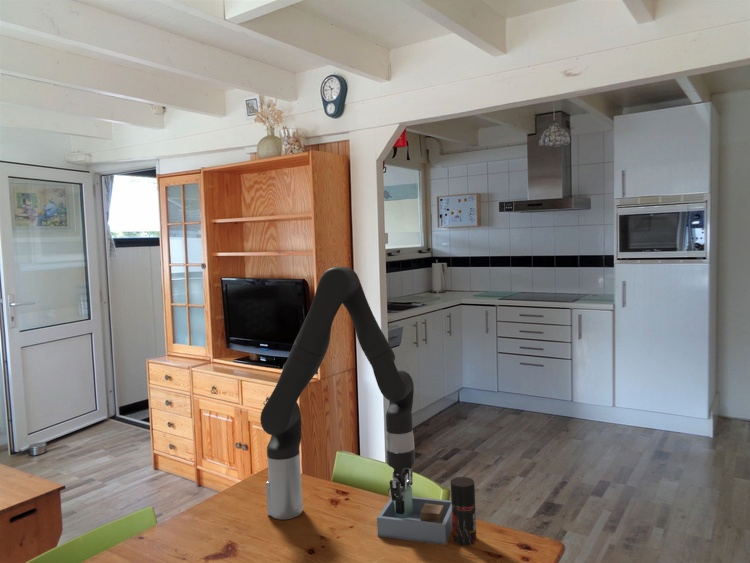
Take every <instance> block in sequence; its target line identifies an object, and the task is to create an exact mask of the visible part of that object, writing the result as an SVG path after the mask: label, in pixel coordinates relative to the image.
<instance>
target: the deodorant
mask: <svg viewBox="0 0 750 563" xmlns="http://www.w3.org/2000/svg"><path fill="white" fill-rule="evenodd" d="M450 499H451V500H450V501H451V504H452V541H453V543H455V544H456V545H459V546H462V547H463V546H465V547H466V546H472V545H474V544H476V542H477V520H476V518H477V517H476V516H477V514H476V492H475V480H474V479H472V478H471V477H466V476H456V477H453V478H452V479H451V480H450Z"/></svg>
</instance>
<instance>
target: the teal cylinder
mask: <svg viewBox="0 0 750 563" xmlns="http://www.w3.org/2000/svg"><path fill="white" fill-rule="evenodd" d="M401 488H403V486H401ZM397 495H398V494H397ZM412 497H413V487H412V485H410V486H409V485H407V486H406V491H405V492H404V508H405V512H404V514H397V513H396V503H395V501H394V514H395V516H396V517H398V518H408V517H411V516H412V515H413V503H412Z"/></svg>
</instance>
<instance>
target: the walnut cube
mask: <svg viewBox="0 0 750 563" xmlns="http://www.w3.org/2000/svg"><path fill="white" fill-rule="evenodd" d="M420 514H421V521H426V522H434V523H442V522H443V520H444V509H443V505H435V504H426V503H425V505H424V506H423V508H422V510H421V512H420Z"/></svg>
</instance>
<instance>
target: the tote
mask: <svg viewBox="0 0 750 563" xmlns="http://www.w3.org/2000/svg"><path fill="white" fill-rule="evenodd" d="M412 503H413V515H412V516H411V517H408V518H398V517H396V516H395V514H394V501H392V497H390V498H389V500H388V501H387V502H386V504H385V505H384V507H383V508H382V510H381V511H380V513H379V514H378V515H377V517H376V524H377V525H376V527H377V528H376V529H377V537H382V538H389V539H397V540H402V541H403V540H404V541H411V542H412V541H413V542H417V541H418V543H424V542H427V543H426V544H432V543H434V545H439V544H442V545H441V546H446V545H447V544H448V541H449V539H450V537H449V536H451V534H452V532H453V529H452V504H451V500H448V499H437V498H428V497H419V496H418V497H417V496H412ZM425 503H426V504H435V505H443V509H444V520H443V522H442V523H434V522H426V521H421V514H420V512H421V510H422V508H423V506H424V505H425ZM451 531H452V532H451ZM446 543H447V544H446Z"/></svg>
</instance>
